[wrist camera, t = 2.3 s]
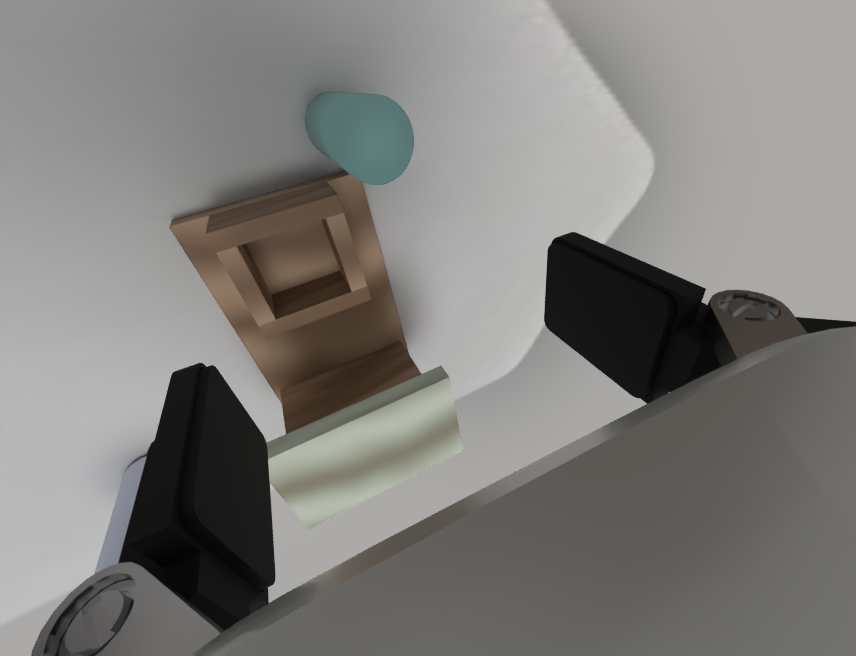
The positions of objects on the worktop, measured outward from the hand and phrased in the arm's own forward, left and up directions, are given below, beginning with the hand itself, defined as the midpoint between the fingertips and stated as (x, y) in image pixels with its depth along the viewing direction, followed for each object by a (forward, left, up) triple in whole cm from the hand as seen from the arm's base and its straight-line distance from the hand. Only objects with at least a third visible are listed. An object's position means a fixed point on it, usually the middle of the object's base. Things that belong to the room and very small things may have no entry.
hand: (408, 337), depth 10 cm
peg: (-3, +3, -22) cm, 22 cm away
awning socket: (+9, -3, -22) cm, 24 cm away
